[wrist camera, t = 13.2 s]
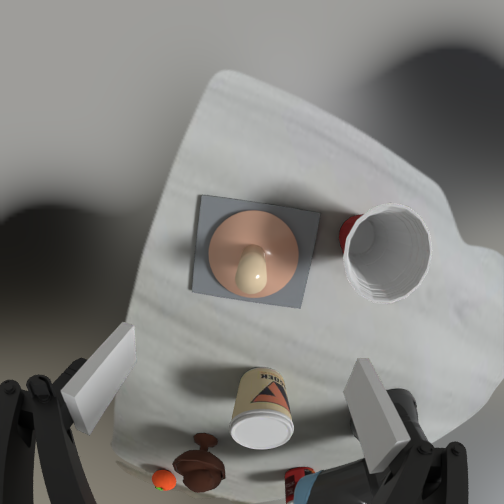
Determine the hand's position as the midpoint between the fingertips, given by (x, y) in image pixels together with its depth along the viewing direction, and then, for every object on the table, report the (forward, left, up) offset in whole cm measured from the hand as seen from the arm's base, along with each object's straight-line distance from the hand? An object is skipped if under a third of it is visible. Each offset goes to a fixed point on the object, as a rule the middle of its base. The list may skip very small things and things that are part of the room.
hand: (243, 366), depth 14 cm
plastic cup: (-14, -5, -25) cm, 29 cm away
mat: (0, 0, -24) cm, 24 cm away
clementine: (+15, +68, -25) cm, 74 cm away
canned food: (-21, +57, -25) cm, 65 cm away
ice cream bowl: (+4, +44, -25) cm, 50 cm away
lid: (0, 0, -24) cm, 24 cm away
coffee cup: (-5, +23, -25) cm, 34 cm away
